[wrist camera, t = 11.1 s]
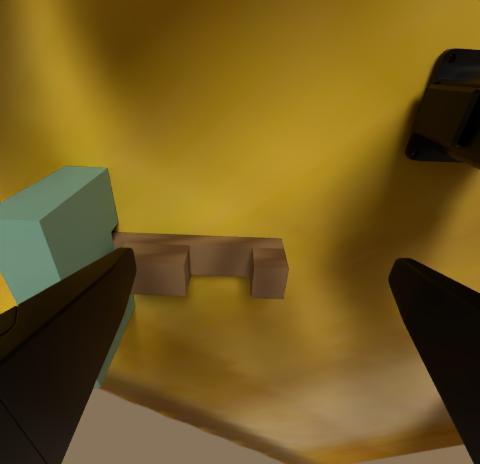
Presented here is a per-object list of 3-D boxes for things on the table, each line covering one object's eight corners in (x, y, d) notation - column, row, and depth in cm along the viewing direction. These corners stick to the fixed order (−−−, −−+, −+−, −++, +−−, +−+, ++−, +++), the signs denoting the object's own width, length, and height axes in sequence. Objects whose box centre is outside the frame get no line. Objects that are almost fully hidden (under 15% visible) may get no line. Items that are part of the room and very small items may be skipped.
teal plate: (65, 165, 20) (-27, 218, 13) (107, 168, 20) (38, 220, 13) (104, 305, 27) (58, 386, 20) (135, 306, 27) (100, 387, 20)
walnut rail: (281, 238, 23) (288, 268, 20) (277, 266, 25) (283, 299, 21) (38, 229, 22) (3, 258, 19) (50, 258, 24) (18, 290, 21)
